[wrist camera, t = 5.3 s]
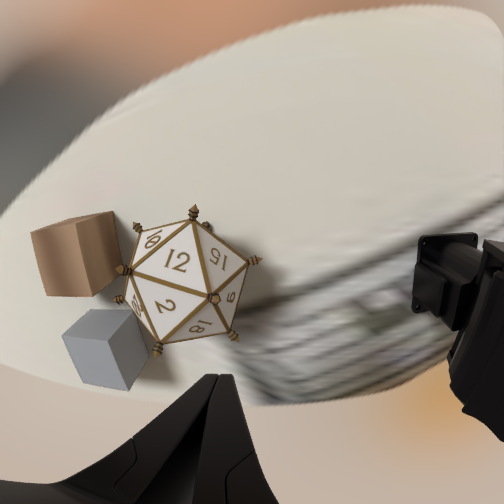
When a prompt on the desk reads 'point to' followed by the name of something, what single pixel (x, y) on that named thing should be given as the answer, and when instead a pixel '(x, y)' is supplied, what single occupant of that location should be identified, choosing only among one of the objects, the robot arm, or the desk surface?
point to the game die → (183, 281)
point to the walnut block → (77, 255)
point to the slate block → (107, 348)
